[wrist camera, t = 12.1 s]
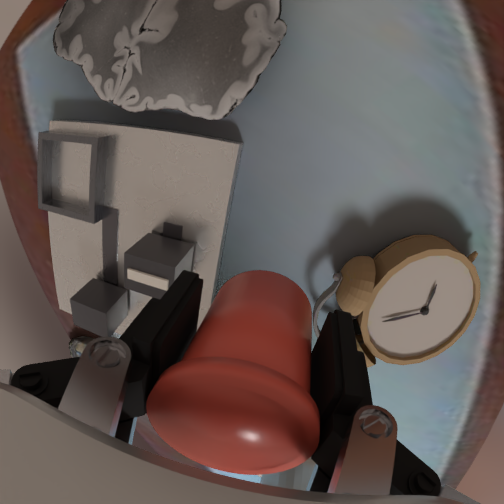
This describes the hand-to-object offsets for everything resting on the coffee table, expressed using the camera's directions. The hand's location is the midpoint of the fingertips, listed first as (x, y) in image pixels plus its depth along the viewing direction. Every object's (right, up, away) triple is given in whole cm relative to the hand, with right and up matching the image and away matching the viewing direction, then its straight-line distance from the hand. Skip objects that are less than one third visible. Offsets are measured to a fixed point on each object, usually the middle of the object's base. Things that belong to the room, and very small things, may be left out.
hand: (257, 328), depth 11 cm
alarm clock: (+12, -1, +15) cm, 19 cm away
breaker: (-14, -2, +17) cm, 22 cm away
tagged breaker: (-7, +2, +14) cm, 16 cm away
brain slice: (-7, +22, +8) cm, 24 cm away
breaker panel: (-12, +4, +16) cm, 20 cm away
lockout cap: (0, 0, +2) cm, 2 cm away
